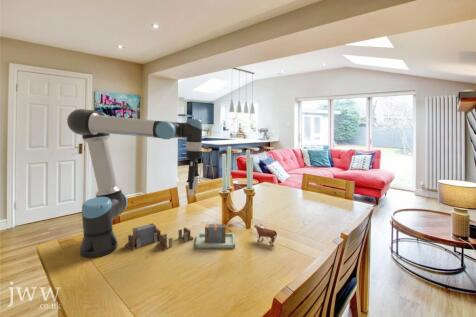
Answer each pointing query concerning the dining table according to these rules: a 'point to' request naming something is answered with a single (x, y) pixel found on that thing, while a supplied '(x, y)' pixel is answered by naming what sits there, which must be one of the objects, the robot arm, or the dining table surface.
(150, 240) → the fuse
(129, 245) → the holder
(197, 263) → the dining table surface
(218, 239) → the block
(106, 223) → the robot arm
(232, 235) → the tray
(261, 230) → the bull figurine
